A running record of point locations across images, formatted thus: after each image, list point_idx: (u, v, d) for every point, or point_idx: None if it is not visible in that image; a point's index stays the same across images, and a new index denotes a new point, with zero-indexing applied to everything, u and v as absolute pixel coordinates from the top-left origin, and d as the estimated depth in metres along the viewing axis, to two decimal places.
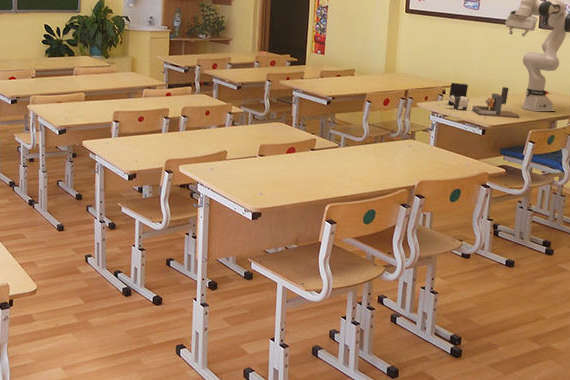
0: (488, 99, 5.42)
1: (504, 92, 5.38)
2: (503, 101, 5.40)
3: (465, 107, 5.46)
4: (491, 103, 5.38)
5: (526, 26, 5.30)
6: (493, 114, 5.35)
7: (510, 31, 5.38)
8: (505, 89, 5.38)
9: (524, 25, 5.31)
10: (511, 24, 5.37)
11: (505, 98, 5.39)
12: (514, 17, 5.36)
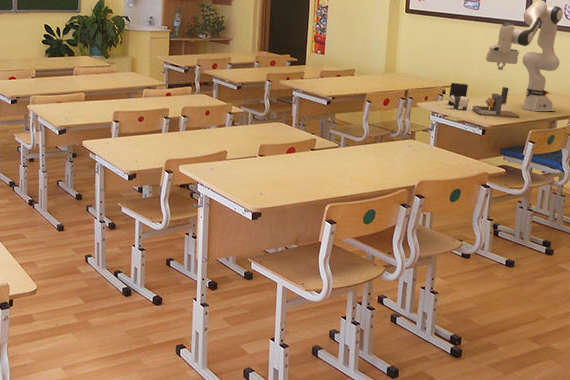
0: (488, 99, 5.42)
1: (504, 92, 5.38)
2: (503, 101, 5.40)
3: (465, 107, 5.46)
4: (491, 103, 5.38)
5: (511, 61, 5.32)
6: (493, 114, 5.35)
7: (499, 67, 5.34)
8: (505, 89, 5.38)
9: (508, 60, 5.32)
10: (494, 60, 5.31)
11: (505, 98, 5.39)
12: (497, 53, 5.30)
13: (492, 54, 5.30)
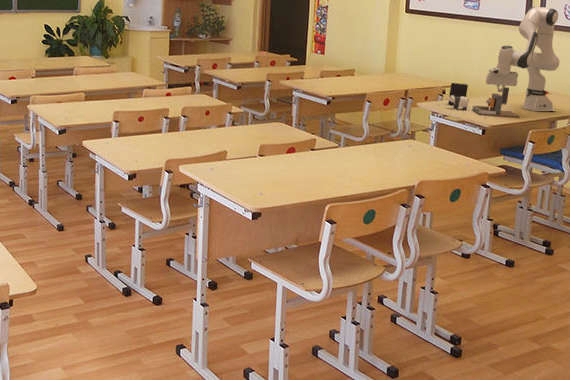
0: (489, 99, 5.42)
1: (505, 92, 5.38)
2: (504, 101, 5.40)
3: (465, 107, 5.46)
4: (492, 103, 5.38)
5: (510, 83, 5.37)
6: (493, 114, 5.35)
7: (499, 89, 5.38)
8: (506, 89, 5.38)
9: (508, 83, 5.36)
10: (494, 82, 5.36)
11: (506, 98, 5.39)
12: (496, 75, 5.34)
13: (492, 77, 5.34)
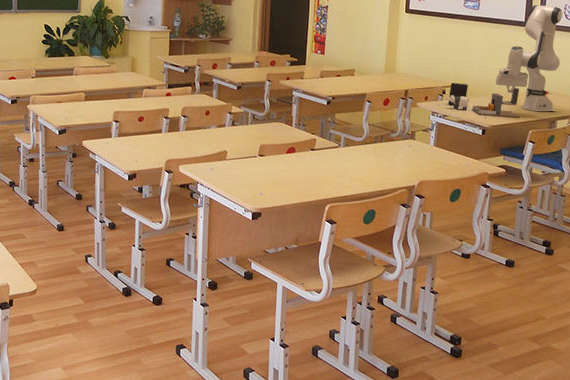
0: (488, 104, 5.43)
1: (515, 93, 5.39)
2: (514, 102, 5.41)
3: (465, 107, 5.46)
4: (491, 108, 5.39)
5: (520, 84, 5.37)
6: (493, 114, 5.35)
7: (509, 90, 5.39)
8: (516, 90, 5.38)
9: (518, 83, 5.37)
10: (504, 83, 5.36)
11: (516, 99, 5.40)
12: (506, 76, 5.35)
13: (502, 77, 5.35)
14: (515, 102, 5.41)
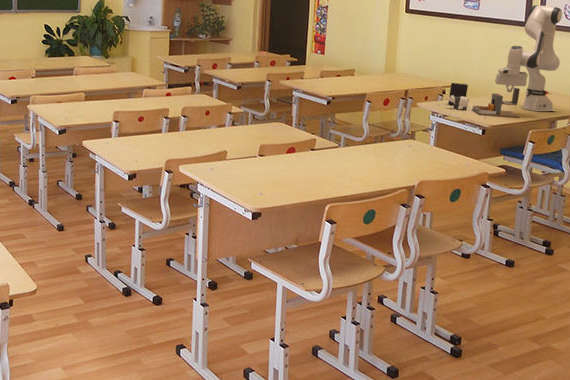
0: (488, 104, 5.43)
1: (515, 93, 5.39)
2: (514, 102, 5.41)
3: (465, 107, 5.46)
4: (491, 108, 5.39)
5: (520, 84, 5.37)
6: (493, 114, 5.35)
7: (508, 89, 5.38)
8: (516, 90, 5.38)
9: (517, 83, 5.36)
10: (503, 82, 5.36)
11: (516, 99, 5.40)
12: (506, 75, 5.34)
13: (501, 77, 5.34)
14: (516, 102, 5.41)
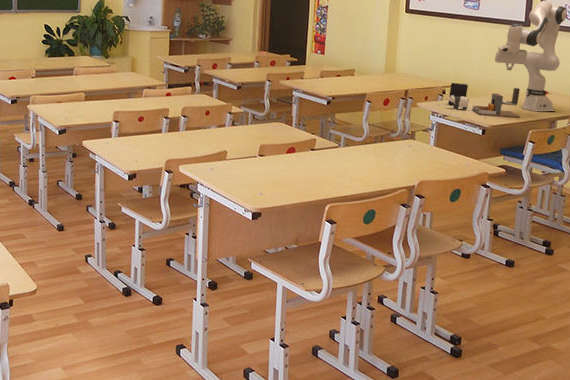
0: (488, 104, 5.43)
1: (515, 93, 5.39)
2: (514, 102, 5.41)
3: (465, 107, 5.46)
4: (491, 108, 5.39)
5: (519, 62, 5.35)
6: (493, 114, 5.35)
7: (508, 68, 5.36)
8: (516, 90, 5.38)
9: (517, 61, 5.34)
10: (503, 61, 5.34)
11: (516, 99, 5.40)
12: (505, 53, 5.32)
13: (501, 55, 5.32)
14: (516, 102, 5.41)
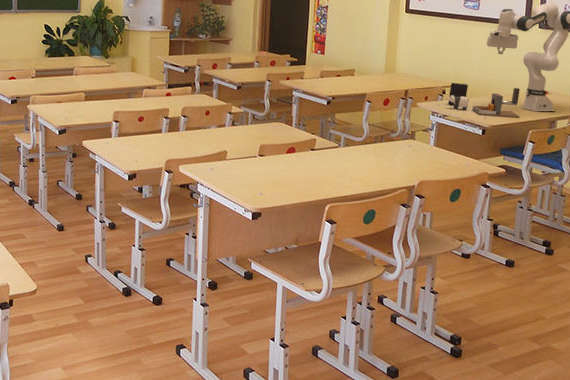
0: (488, 104, 5.43)
1: (515, 93, 5.39)
2: (514, 102, 5.41)
3: (465, 107, 5.46)
4: (491, 108, 5.39)
5: (510, 46, 5.51)
6: (493, 114, 5.35)
7: (499, 52, 5.53)
8: (516, 90, 5.38)
9: (508, 45, 5.51)
10: (495, 45, 5.50)
11: (516, 99, 5.40)
12: (497, 38, 5.49)
13: (492, 39, 5.49)
14: (516, 102, 5.41)
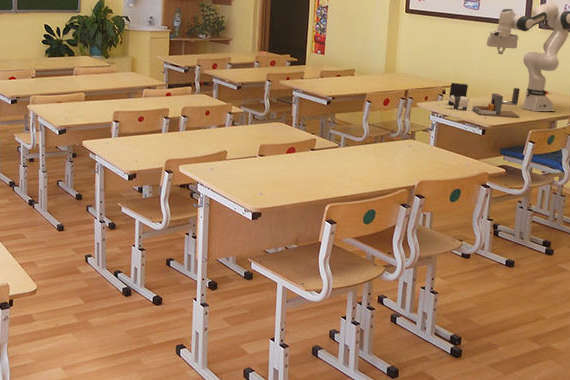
0: (488, 104, 5.43)
1: (515, 93, 5.39)
2: (514, 102, 5.41)
3: (465, 107, 5.46)
4: (491, 108, 5.39)
5: (510, 46, 5.51)
6: (493, 114, 5.35)
7: (499, 52, 5.53)
8: (516, 90, 5.38)
9: (508, 45, 5.51)
10: (495, 45, 5.50)
11: (516, 99, 5.40)
12: (497, 38, 5.49)
13: (492, 39, 5.49)
14: (516, 102, 5.41)
